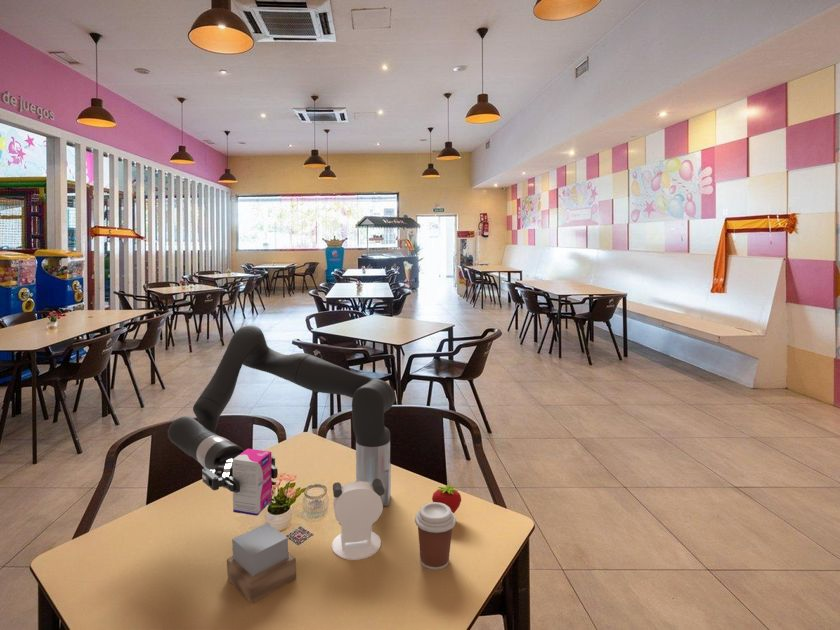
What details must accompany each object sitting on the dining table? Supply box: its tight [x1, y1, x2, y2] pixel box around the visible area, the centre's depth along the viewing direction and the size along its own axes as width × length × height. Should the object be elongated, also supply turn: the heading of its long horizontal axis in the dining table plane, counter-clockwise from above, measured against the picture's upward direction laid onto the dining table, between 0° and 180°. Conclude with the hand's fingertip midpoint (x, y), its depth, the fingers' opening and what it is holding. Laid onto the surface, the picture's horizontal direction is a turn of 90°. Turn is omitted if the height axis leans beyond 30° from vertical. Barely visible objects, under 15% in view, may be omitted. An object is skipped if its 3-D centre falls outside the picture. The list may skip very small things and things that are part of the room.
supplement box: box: [232, 448, 273, 516], centre depth 98 cm, size 6×6×12 cm
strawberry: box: [431, 481, 462, 514], centre depth 123 cm, size 6×8×10 cm
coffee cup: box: [414, 501, 457, 571], centre depth 106 cm, size 9×9×12 cm
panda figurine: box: [331, 479, 385, 561], centre depth 111 cm, size 12×11×15 cm
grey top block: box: [231, 522, 289, 577], centre depth 99 cm, size 8×8×4 cm
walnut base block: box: [226, 551, 297, 605], centre depth 100 cm, size 10×10×5 cm
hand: (257, 480), depth 97 cm, fingers closed on supplement box, 7 cm apart
